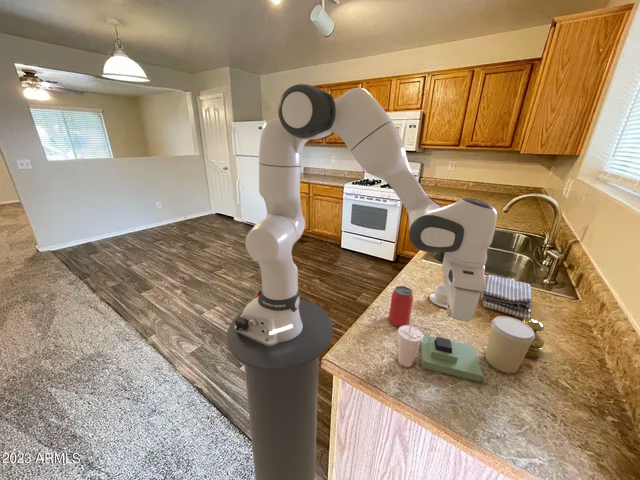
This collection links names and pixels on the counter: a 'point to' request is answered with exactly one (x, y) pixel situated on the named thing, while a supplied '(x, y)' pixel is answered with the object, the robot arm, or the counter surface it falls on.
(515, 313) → the towel
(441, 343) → the key
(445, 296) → the teacup
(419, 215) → the robot arm
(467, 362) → the green flat stepped block
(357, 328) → the counter surface
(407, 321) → the beer can
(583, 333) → the counter surface
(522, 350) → the coffee cup
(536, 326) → the gold stacked stones ornament
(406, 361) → the smoothie
